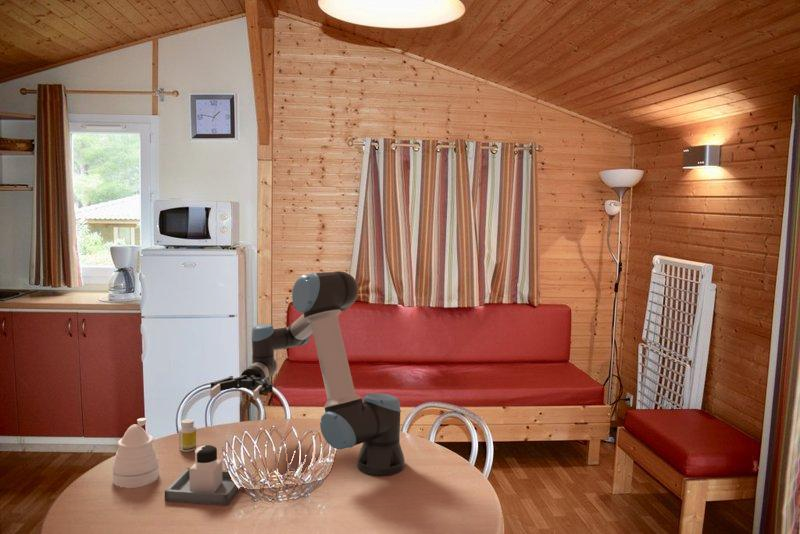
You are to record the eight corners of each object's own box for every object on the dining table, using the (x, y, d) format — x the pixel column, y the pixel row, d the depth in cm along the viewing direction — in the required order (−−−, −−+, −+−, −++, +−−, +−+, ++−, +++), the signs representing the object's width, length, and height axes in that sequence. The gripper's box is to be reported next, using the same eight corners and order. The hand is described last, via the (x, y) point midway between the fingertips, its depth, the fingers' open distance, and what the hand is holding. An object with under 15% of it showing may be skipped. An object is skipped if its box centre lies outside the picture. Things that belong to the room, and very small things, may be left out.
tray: (245, 481, 188) (245, 471, 188) (227, 505, 174) (227, 495, 173) (187, 477, 190) (187, 467, 190) (164, 501, 175) (164, 490, 175)
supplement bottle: (199, 448, 212) (199, 420, 211) (186, 453, 208) (186, 425, 206) (189, 444, 215) (188, 417, 214) (175, 449, 210) (175, 421, 209)
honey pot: (154, 465, 198) (152, 410, 196) (163, 481, 187) (162, 423, 185) (109, 474, 191) (107, 417, 189) (116, 491, 180) (114, 431, 178)
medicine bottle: (222, 482, 185) (222, 443, 184) (213, 494, 178) (213, 453, 177) (199, 481, 186) (198, 442, 184) (189, 492, 178) (188, 452, 177)
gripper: (290, 388, 213) (272, 408, 192) (219, 385, 215) (194, 405, 194) (290, 366, 212) (272, 384, 191) (218, 364, 215) (193, 381, 193)
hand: (232, 394), depth 193 cm, fingers open, 13 cm apart
